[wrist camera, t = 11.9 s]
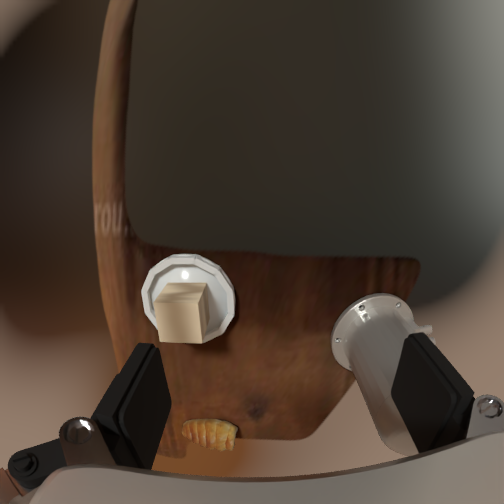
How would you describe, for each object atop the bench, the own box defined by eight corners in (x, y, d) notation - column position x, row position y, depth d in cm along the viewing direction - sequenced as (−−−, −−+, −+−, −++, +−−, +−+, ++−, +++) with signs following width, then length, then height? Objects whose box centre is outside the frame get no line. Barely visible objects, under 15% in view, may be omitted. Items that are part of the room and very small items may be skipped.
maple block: (206, 282, 37) (197, 303, 31) (209, 318, 38) (202, 343, 32) (167, 282, 37) (153, 302, 31) (172, 317, 38) (160, 341, 33)
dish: (233, 253, 36) (232, 256, 35) (237, 338, 40) (236, 344, 38) (139, 254, 37) (135, 257, 35) (152, 336, 40) (149, 341, 39)
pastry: (184, 435, 46) (180, 450, 42) (182, 411, 44) (178, 427, 41) (236, 441, 46) (234, 457, 43) (238, 418, 44) (237, 435, 41)
